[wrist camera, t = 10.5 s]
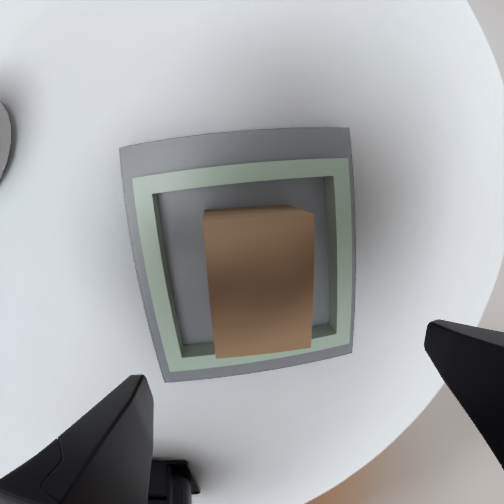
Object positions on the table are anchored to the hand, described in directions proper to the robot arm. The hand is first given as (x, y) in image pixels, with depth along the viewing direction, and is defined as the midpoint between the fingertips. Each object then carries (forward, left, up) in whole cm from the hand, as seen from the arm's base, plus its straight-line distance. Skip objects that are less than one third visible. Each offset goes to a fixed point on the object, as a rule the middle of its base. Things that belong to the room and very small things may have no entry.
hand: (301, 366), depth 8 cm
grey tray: (0, 0, -12) cm, 12 cm away
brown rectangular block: (0, 0, -11) cm, 11 cm away
